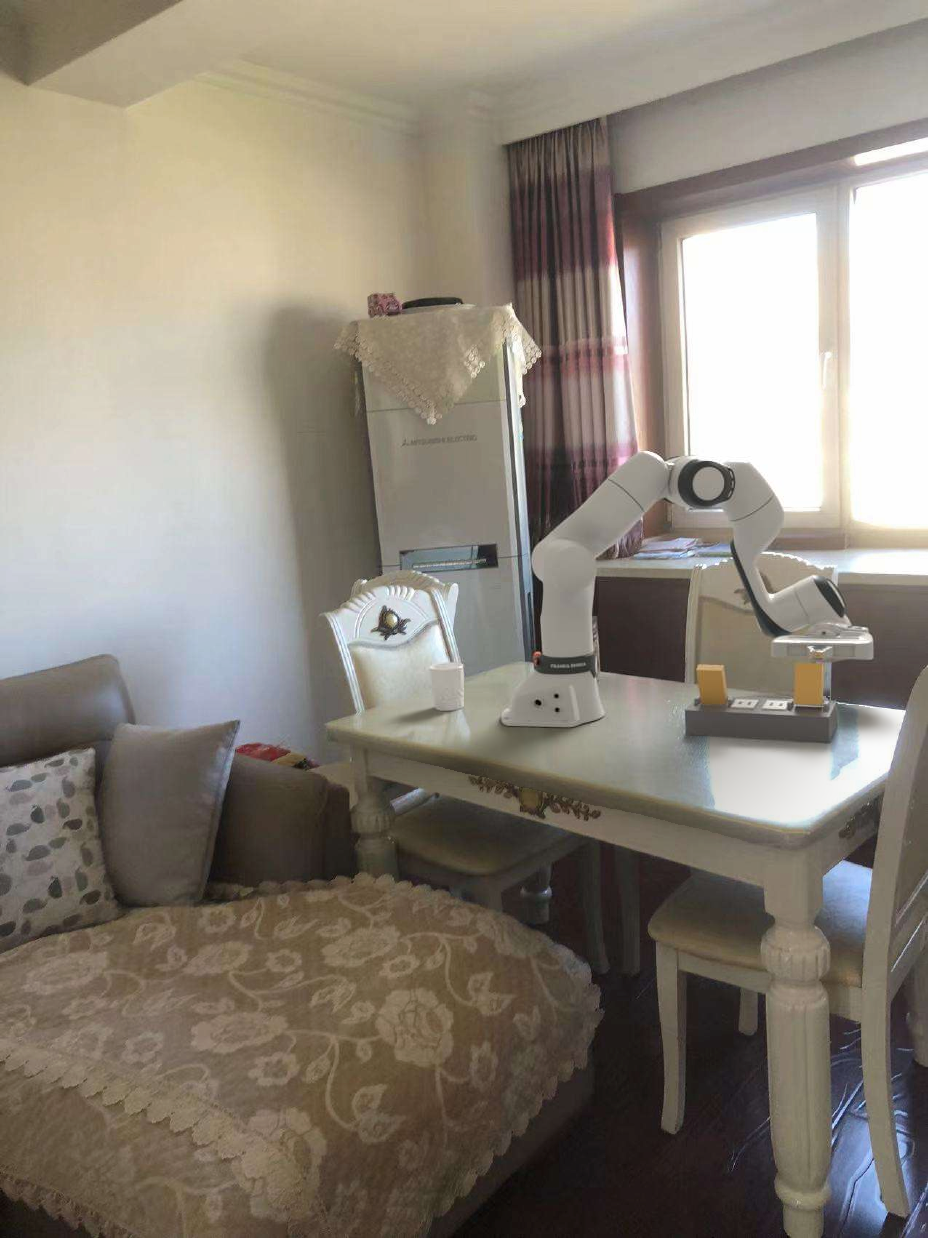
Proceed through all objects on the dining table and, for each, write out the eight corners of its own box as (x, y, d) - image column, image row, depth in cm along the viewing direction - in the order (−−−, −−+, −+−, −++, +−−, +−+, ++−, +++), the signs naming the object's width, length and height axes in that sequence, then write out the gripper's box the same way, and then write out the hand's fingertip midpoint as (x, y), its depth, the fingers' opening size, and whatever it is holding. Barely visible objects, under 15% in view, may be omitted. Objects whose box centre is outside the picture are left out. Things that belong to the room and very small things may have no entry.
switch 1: (700, 703, 200) (696, 669, 197) (703, 697, 202) (698, 664, 198) (726, 704, 198) (721, 670, 194) (727, 698, 199) (723, 665, 196)
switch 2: (793, 704, 192) (795, 662, 193) (795, 704, 194) (796, 664, 195) (821, 705, 190) (822, 663, 191) (822, 706, 191) (823, 664, 193)
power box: (685, 734, 197) (684, 704, 196) (700, 718, 208) (699, 689, 207) (829, 743, 185) (829, 710, 184) (837, 725, 196) (836, 694, 195)
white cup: (430, 712, 229) (426, 670, 228) (435, 703, 237) (432, 663, 235) (464, 711, 228) (461, 668, 227) (468, 702, 236) (465, 661, 234)
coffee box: (594, 687, 241) (590, 622, 238) (568, 687, 243) (564, 622, 240) (601, 678, 249) (598, 615, 247) (576, 678, 251) (572, 615, 249)
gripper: (775, 627, 218) (764, 639, 206) (876, 627, 209) (870, 641, 197) (776, 655, 219) (765, 669, 207) (876, 656, 210) (870, 672, 198)
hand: (817, 655), depth 202 cm, fingers closed
